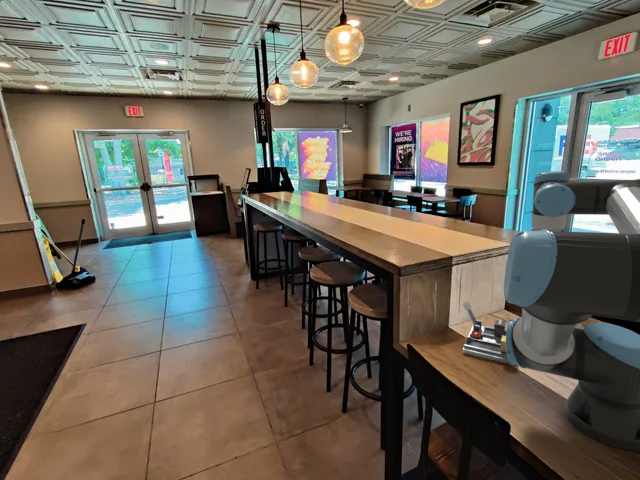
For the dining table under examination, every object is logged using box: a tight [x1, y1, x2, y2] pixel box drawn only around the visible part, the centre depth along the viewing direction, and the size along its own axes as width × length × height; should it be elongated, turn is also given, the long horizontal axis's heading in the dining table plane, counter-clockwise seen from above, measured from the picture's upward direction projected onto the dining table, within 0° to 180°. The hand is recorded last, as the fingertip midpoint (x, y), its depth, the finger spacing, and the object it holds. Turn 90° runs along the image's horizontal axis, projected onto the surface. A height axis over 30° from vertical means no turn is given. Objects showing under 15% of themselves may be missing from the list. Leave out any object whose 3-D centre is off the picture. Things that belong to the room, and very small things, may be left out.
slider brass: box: [500, 335, 507, 354], centre depth 100 cm, size 4×3×5 cm
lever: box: [462, 300, 479, 325], centre depth 114 cm, size 2×2×10 cm
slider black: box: [493, 319, 507, 337], centre depth 109 cm, size 4×3×5 cm
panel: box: [462, 319, 513, 366], centre depth 107 cm, size 18×15×4 cm
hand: (541, 308), depth 92 cm, fingers closed
